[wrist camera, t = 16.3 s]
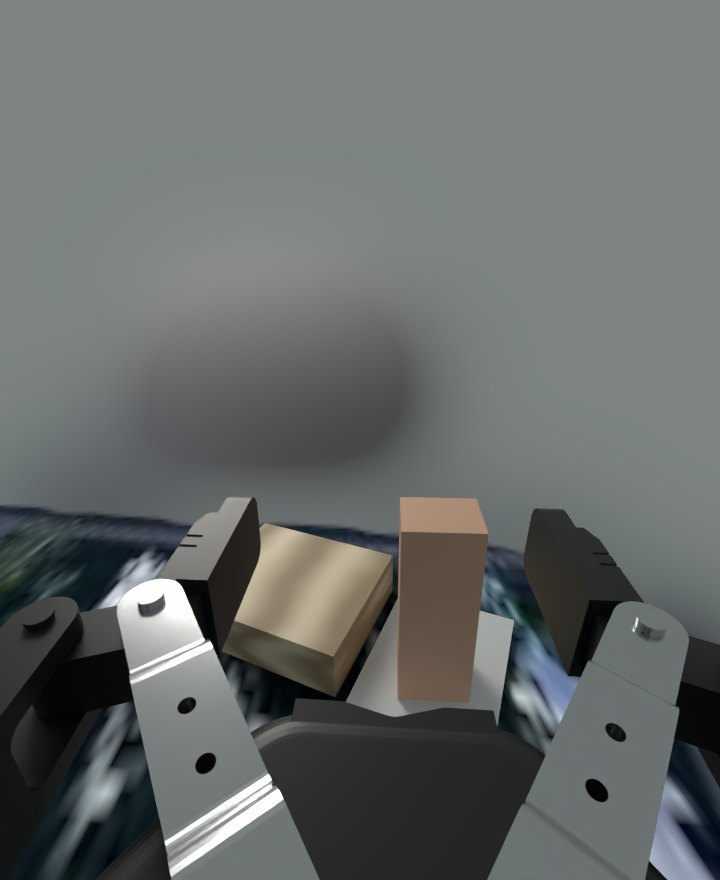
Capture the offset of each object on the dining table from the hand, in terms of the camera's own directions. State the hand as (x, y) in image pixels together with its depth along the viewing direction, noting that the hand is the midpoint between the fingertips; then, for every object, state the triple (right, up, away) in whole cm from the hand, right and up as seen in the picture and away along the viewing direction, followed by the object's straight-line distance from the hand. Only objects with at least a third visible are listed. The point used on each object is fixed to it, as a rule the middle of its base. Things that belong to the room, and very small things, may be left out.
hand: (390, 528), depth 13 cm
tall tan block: (+4, -15, +20) cm, 25 cm away
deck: (-7, -13, +27) cm, 30 cm away
